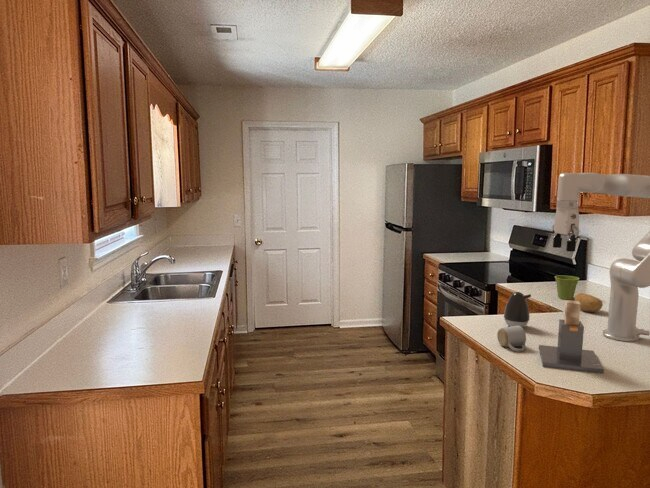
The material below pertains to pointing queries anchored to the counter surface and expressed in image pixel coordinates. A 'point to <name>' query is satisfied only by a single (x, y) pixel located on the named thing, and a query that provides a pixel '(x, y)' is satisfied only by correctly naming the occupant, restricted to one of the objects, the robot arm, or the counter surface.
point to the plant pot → (566, 286)
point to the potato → (588, 302)
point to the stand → (570, 351)
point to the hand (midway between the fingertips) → (563, 249)
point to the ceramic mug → (512, 337)
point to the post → (572, 312)
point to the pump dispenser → (517, 310)
